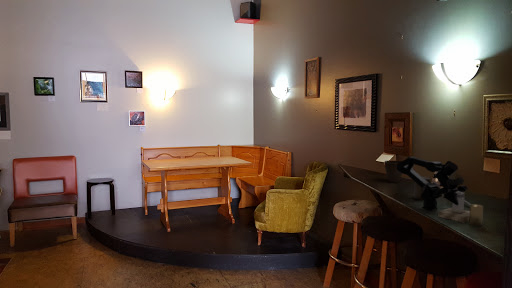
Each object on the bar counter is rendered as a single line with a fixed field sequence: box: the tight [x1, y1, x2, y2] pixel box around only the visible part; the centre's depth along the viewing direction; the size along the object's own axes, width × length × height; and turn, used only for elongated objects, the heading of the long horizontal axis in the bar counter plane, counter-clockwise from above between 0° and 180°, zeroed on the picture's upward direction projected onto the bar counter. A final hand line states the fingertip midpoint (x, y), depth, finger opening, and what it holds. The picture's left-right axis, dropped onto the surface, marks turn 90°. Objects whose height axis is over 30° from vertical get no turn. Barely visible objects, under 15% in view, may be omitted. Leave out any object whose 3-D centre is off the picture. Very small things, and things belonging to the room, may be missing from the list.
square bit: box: [451, 191, 466, 214], centre depth 216 cm, size 4×4×13 cm
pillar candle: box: [413, 176, 432, 201], centre depth 258 cm, size 10×10×15 cm
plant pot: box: [384, 160, 403, 184], centre depth 311 cm, size 15×15×16 cm
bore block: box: [437, 207, 470, 224], centre depth 216 cm, size 14×14×3 cm
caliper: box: [464, 199, 471, 208], centre depth 240 cm, size 20×1×6 cm, turn 6°
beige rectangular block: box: [468, 203, 484, 227], centre depth 203 cm, size 6×6×10 cm
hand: (460, 204), depth 214 cm, fingers closed on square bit, 4 cm apart
